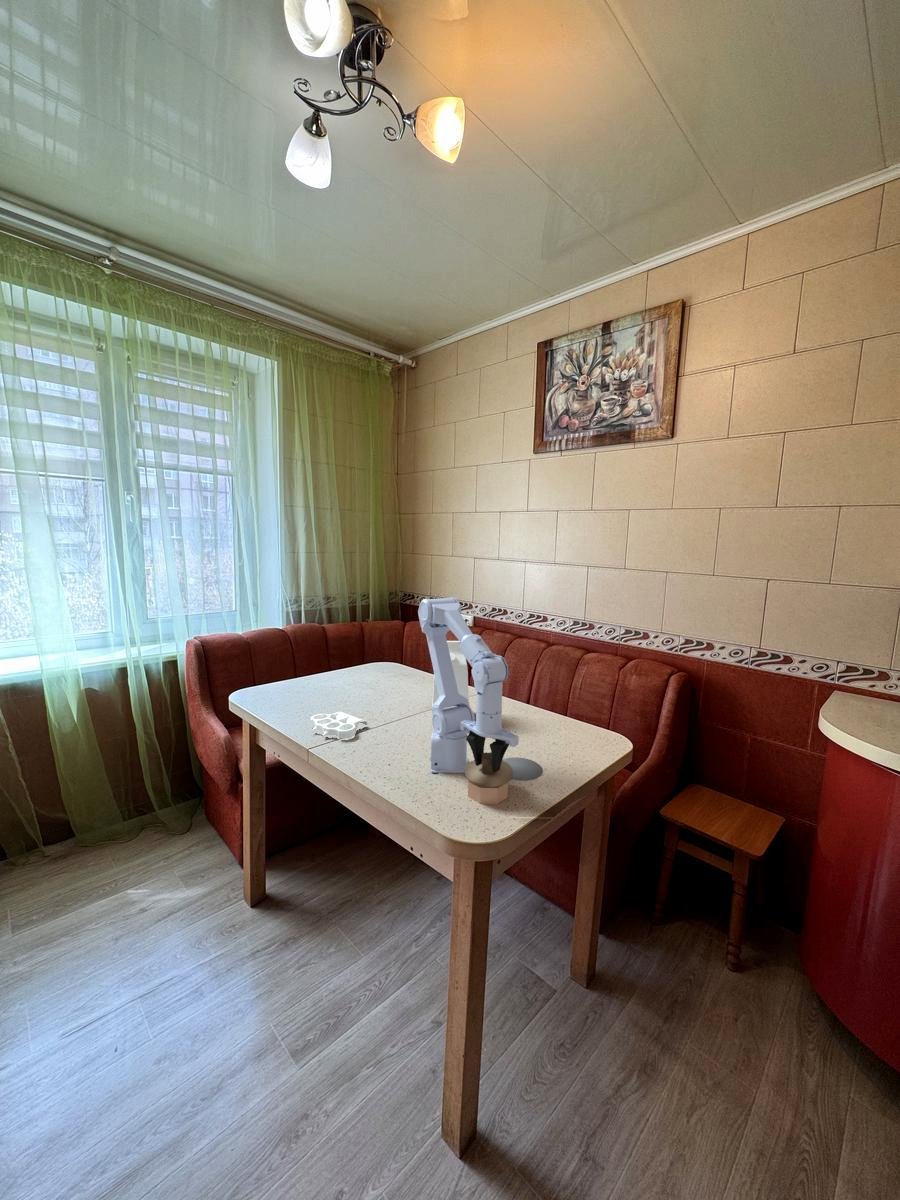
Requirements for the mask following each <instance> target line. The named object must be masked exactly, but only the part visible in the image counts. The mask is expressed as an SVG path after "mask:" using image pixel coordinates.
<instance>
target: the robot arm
mask: <svg viewBox="0 0 900 1200" xmlns="http://www.w3.org/2000/svg"><path fill="white" fill-rule="evenodd" d="M417 614H418V619H419V620H418V621H419V625H420V628H421V632H422V633H423V634H425V637H426V641H427V646H428V651H429V655H430V656H429V657H430V660H431V663H432V664H431V665H432V669H433V670H432V671H433V676H434V675H435V679H436V684H437V689H438V694H439V698H438V700H437V701H436V702H435V703H434V705H433V706H432V705H431V726H432V728H433V731H434V732H431V738H430V739H431V741H430V754H429V761H430V773H432V774H433V773H434V774H436V773H437V774H438V773H456V774H457V773H460V774H463V773H464V774H465V767H466V766H467V764H469V759H468V757H467V755H468V753H467V752H468V745H469V747H470V749H471V753H472V755H473V759H474V760H475V764H476V765H477V766H479V765H480V764H482V753H485V752H484V751H485V743H486V742H485V741H486V738H489V739H493V740H494V741H493V742H490V743H489V748H490V753H492V770H493V772H497V771H498V770H500V766H501V762H502V760H503V759H504V755H505V754H506V752H507V750H508V748H509V746H510V747H512V748H515V747H516V746H518V745H519V741H520V739H519V735H517V734H515V733H512V732H511V731H509V730H507V729H505V728H503V727H502V719H503V718H502V715H503V712H502V711H503V682H505V681H506V680H507V679H508V676H509V667H508V664H507V661H506V659H505V657H503V656H501V655H497V654H496V653H493V652H492V650H491V649H490V647H489V646H488V644H487V643H485V641H484V639H482V637H481V635H479V634H477V633H473V632H472V630H471V629H470V627H469V625H468V623H467V622H466V620H465V618H464V617H463V615H462V605H461V603H460V602H459V601H458V599H457V598H456V597H453V596H452V597H443V598H429V599H428V598H424V599H422V600H421V601H420V603H419V607H418V610H417ZM450 631H451V633H452V634H453V635H454V636H455V638H457V641H460V643H461V644H460V650H461V652H462V653H463V655H464V656H465V658H466V662H468V663H469V665H470V667H471V668H472V669H471V675H472V679H473V682H474V685H473V686H474V690H475V691H476V707H475V708H476V709H475V713H476V714H474V710H473V709H472V708H471V705H470V702H469V701H468V700H469V698H468V699H467V698H465V697H463V696H462V695H460V694H459V693H458V689H457V684H456V680H455V675H454V671H453V666H452V662H451V657H450V653H449V648H448V644H447V641H448V639H447V634H448V632H450ZM450 706H457V707H454V708H449V709H444V708H445V707H450ZM443 709H444V710H443ZM475 715H476V716H475ZM475 718H476V719H475ZM474 760H473V761H474Z"/></svg>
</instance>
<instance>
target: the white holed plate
mask: <svg viewBox="0 0 900 1200" xmlns="http://www.w3.org/2000/svg"><path fill="white" fill-rule="evenodd" d="M334 719H335V720H334ZM310 723H311V724H314V725H315V727H314V728H313V729H312V728H311V730H320V731H322V732H323V733H324V734H323V736H325V735H336V736H338V737H339V738H350V737H352V736H354V735H355V734H356V733H357V731H356V729H357V728H356V727H357V725H358V724H359V723H363V724H365V725H367V726H368V721H367V720H364V719H362V718H358V717H357V716H354V715H350V714H348V713H345V712H343V711H337V712H334V713H318V714H314V715H313V716H311V717H310ZM311 724H310V725H311ZM323 736H322V737H323Z"/></svg>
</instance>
